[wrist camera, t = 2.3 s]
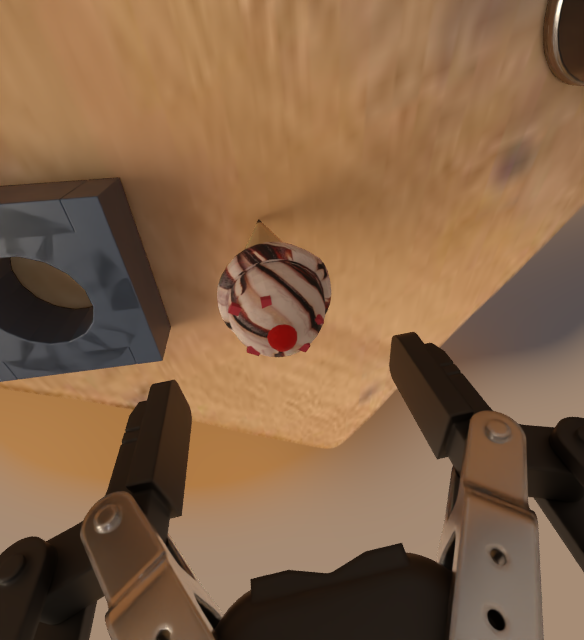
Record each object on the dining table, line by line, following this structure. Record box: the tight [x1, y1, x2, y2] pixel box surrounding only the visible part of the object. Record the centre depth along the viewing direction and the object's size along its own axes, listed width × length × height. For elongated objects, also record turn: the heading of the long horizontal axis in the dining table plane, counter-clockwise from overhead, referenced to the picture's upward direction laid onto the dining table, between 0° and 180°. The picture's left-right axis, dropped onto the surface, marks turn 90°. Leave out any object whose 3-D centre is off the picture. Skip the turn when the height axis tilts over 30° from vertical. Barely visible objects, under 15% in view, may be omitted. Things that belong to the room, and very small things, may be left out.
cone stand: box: [0, 178, 171, 382], centre depth 23 cm, size 13×13×4 cm
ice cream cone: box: [217, 220, 331, 357], centre depth 19 cm, size 6×6×15 cm
